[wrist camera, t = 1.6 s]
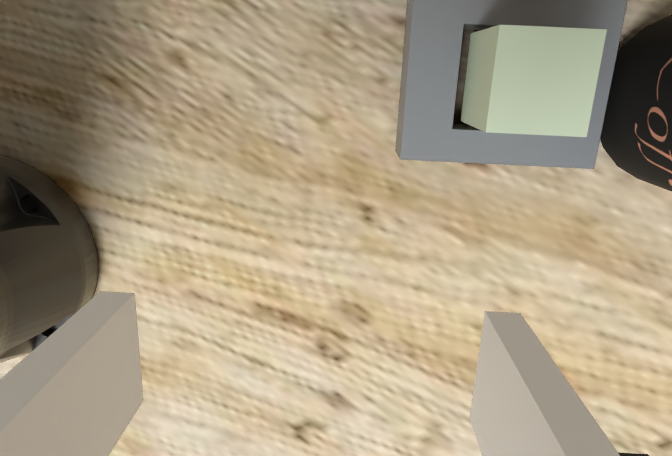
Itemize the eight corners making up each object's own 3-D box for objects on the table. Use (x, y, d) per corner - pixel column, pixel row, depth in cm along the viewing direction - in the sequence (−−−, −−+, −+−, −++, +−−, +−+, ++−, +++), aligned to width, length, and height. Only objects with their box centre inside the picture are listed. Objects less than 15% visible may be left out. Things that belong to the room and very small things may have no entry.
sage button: (460, 120, 31) (485, 132, 25) (470, 33, 29) (499, 24, 24) (542, 124, 31) (586, 137, 25) (557, 37, 29) (607, 29, 24)
